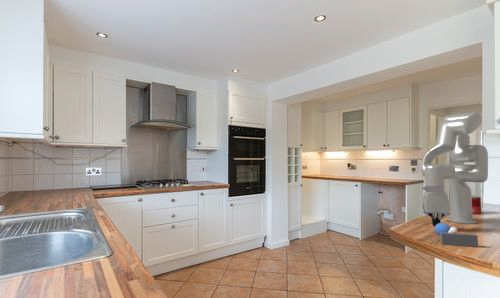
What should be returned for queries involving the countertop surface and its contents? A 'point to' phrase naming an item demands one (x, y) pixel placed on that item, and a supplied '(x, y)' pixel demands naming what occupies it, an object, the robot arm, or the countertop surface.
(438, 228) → the ball
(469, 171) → the robot arm
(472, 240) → the block
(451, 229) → the pin
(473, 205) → the canned food
